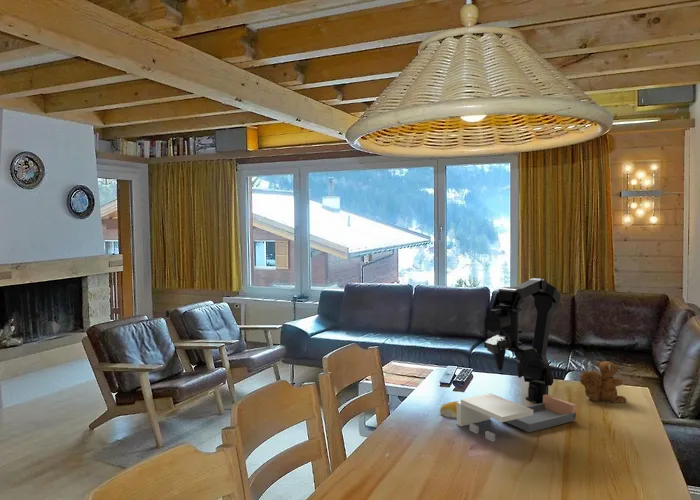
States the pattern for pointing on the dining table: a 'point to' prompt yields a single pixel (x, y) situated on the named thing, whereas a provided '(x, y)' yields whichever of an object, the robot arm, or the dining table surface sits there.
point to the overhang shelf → (488, 411)
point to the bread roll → (449, 410)
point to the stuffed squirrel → (602, 383)
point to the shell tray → (546, 414)
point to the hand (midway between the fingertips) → (509, 373)
